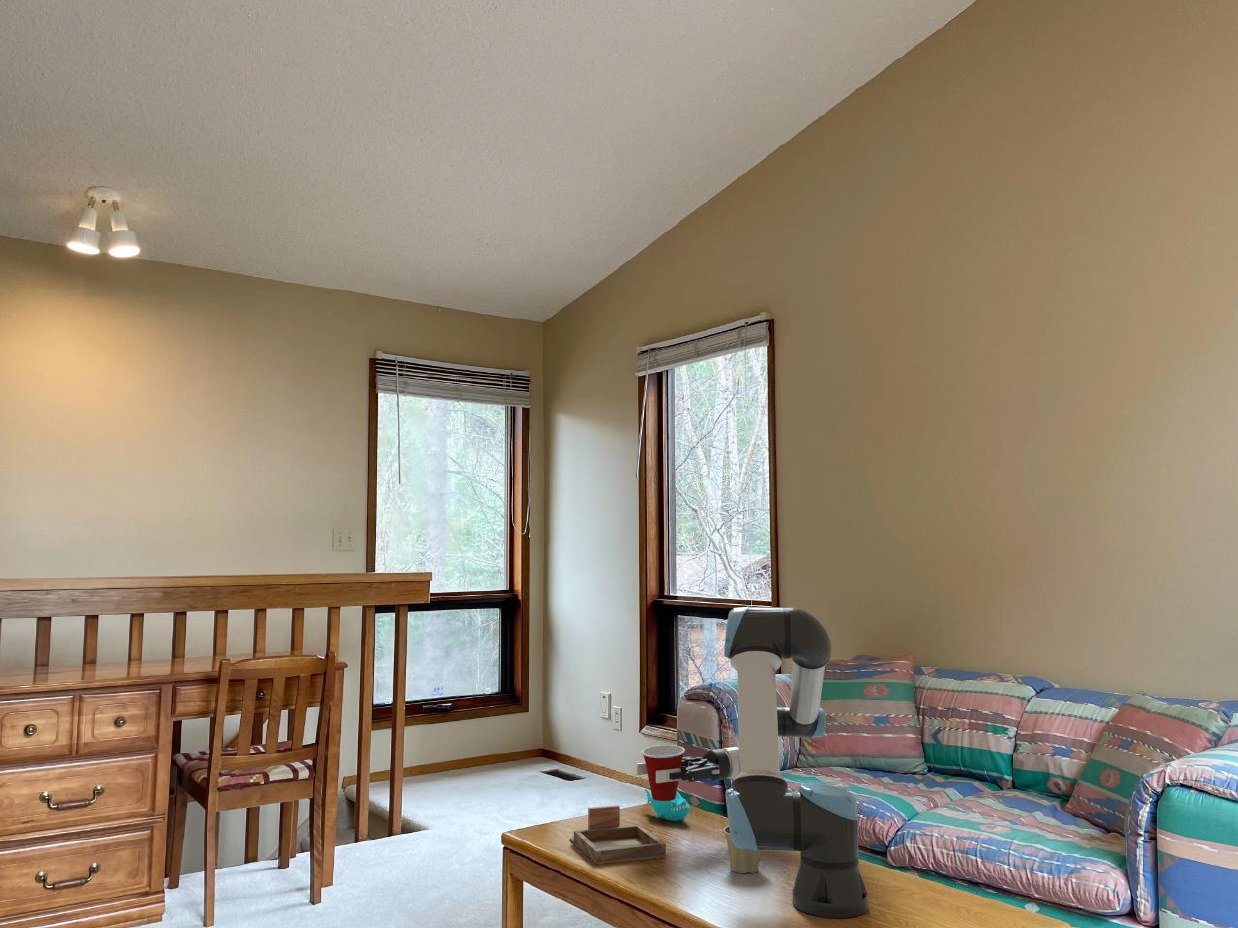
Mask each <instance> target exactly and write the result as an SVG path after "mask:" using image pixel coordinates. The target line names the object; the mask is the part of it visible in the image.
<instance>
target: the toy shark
mask: <svg viewBox="0 0 1238 928" xmlns="http://www.w3.org/2000/svg"><path fill="white" fill-rule="evenodd" d="M644 790H645V793H646V796H647V802H646V803H647V804H650V806H651V808H652V810H653V811H654V812H655V813H656V816H655V818H659V817H660V818H662V819H664V820H667V821H671V822H677V821H681V820H683V819H685V818H686V817H687V816H688V815H689V813H690V811H691V807H690V804H689V802H688V801H687V800H686V799H685V798H683V797H682V796H681V794H680V793H679V792H678V791H677V793H676V797H675V800H672V801H656V800H653V799H652V796H651V794H650V793H651V792H649V790H648V789H647V788H645V789H644Z"/></svg>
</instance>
